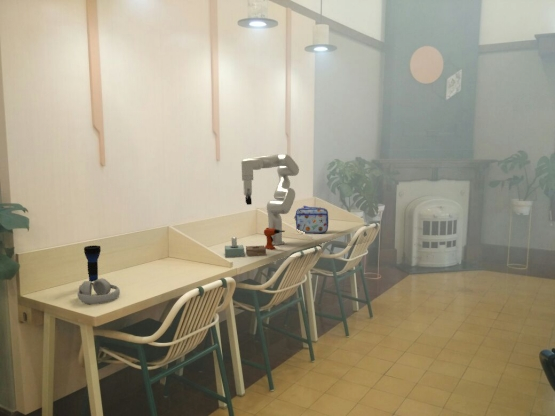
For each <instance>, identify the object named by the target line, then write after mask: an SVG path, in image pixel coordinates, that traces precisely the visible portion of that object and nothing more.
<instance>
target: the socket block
mask: <svg viewBox="0 0 555 416" xmlns="http://www.w3.org/2000/svg"><path fill="white" fill-rule="evenodd" d="M245 252H246V256H247V257H252V256H253V257H254V256H255V257H256V256H258V257H259V256H266V255H267V249H266V248H265V245H247V246H245Z"/></svg>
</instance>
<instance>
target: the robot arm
mask: <svg viewBox="0 0 555 416" xmlns="http://www.w3.org/2000/svg"><path fill="white" fill-rule="evenodd" d="M240 163H241V181H243V195H244V196H245V203H246V205H247V206H249V205H250V206H251V205H252V204H253V203H252V195H253V185H252V183H253V181H254V171H258V170H261V169H271V168H276V167H277V169H276V171H277V174H278V184H277V186H276V188H275V190H274V193H273V197H274V199H271V200H269V201H267V203H266V211H267V218H268V223H267V224H268V228H271V229H272V228H273V229H277V230H280V231H283V228H282V226H283V225H282V224H283V223H282V220H283V219H282V217H281V215H286V214H288V213H290V210H291V208H292V205H293V203H294V201H295V198H296V192H295V190H294V188H292V187H290V186H291V181H290V178H289V177H295V176H297V175H298V174H299V172H300V168H299V165H298V164H297V163H296V161H295V160H294V159H293V158H292V156H290V155H288V154H286V153H285V154H270V155H264V156H258V157H256V156H255V157H248V158H245V159H242V160H241V162H240ZM272 238H273V241H272V245H273V246H280V245H284V244H285V241H284V240H283V232H280V233H277V234H275V235H272Z"/></svg>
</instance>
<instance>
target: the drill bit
mask: <svg viewBox="0 0 555 416" xmlns="http://www.w3.org/2000/svg"><path fill="white" fill-rule="evenodd" d="M237 242H238V241H237V237H231V246H232V248H237Z"/></svg>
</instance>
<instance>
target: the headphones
mask: <svg viewBox="0 0 555 416" xmlns="http://www.w3.org/2000/svg"><path fill="white" fill-rule="evenodd" d="M92 283H93V285H92ZM92 283H91V281H89V280H85V281H83V282H82V284H80V285H79V287H78V291H77V294H76V295H77V298H79V301H80V302H81V303H83V304H85V305H98V304H105V303H110V302H113V301H115V300H117V299H118V298H119V296H120V294H121V291H120V288H119V287H118V286H117V285H113V284H111V283H110V282H109V281H108V280H107V279H106V278H102V277H101V278H98V280H95V281H93V282H92ZM111 289H113V290H114V291H112V290H111ZM92 291H94V293H96V294H97V295H92ZM111 291H112V292H111Z"/></svg>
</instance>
